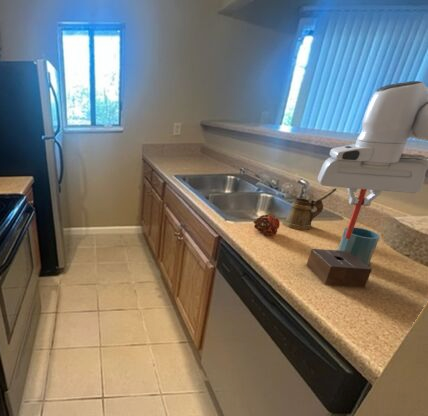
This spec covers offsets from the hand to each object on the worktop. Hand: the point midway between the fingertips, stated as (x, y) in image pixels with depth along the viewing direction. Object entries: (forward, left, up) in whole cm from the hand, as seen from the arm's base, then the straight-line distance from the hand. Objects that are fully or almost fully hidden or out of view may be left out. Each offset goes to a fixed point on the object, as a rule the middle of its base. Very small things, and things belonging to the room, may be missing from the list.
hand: (358, 204), depth 74 cm
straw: (0, 0, -10) cm, 10 cm away
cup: (-8, -13, -23) cm, 27 cm away
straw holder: (0, 0, -23) cm, 23 cm away
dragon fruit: (+16, -25, -23) cm, 38 cm away
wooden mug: (+1, -37, -23) cm, 44 cm away
